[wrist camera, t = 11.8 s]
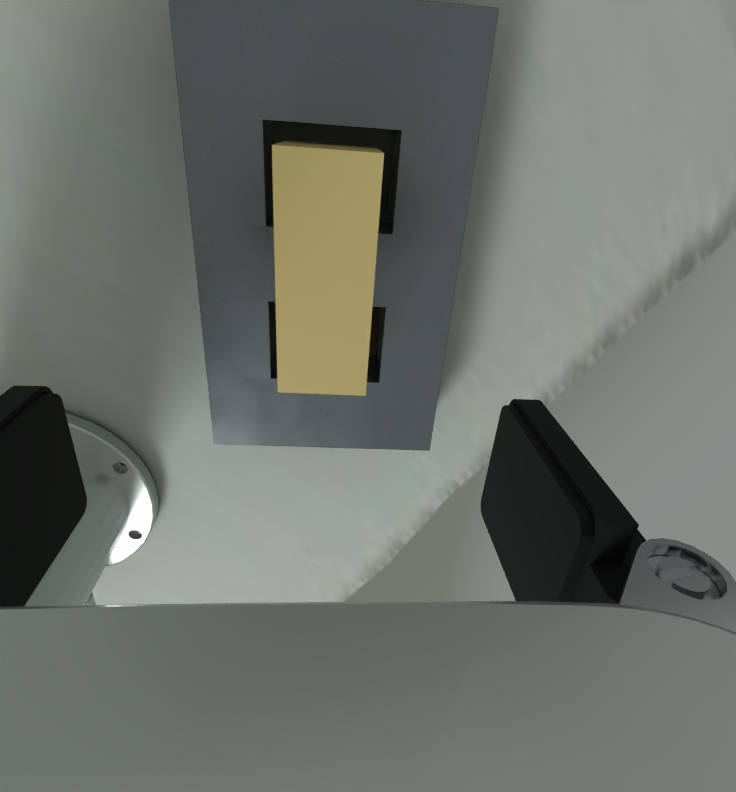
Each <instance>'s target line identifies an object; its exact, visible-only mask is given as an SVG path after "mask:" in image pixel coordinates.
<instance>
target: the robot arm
mask: <svg viewBox="0 0 736 792" xmlns="http://www.w3.org/2000/svg"><path fill="white" fill-rule="evenodd" d="M158 502H159V501H158V495H157V490H156V486H155V483H154V481H153V479H152V477H151V474H150V472H149V471H148V469H147V468H146V466H145V465H144V463H143V462H142V461H141V459H140V458H139V457H138V456H137V455H136V454H135V453H134V452H133V451H132V450H131V449H130V448H129V447H128V446H127V445H126V444H125V443H124V442H123V441H121V440H120V439H118V438H117V437H116V436H114V435H113V434H112V433H110V432H109V431H107V430H105V429H103V428H101V427H100V426H98V425H96V424H94V423H92V422H90V421H88V420H85V419H82V418H79V417H77V416H74V415H71V414H68V413H65V410H64V406H63V402H62V399H61V397H60V396H59V395H58V394H53V392H52V391H51V389H50V388H48V387H46V386H13V387H11V388H10V389H9V390H7V391H6V392H5V393H4V394H2V395H1V396H0V792H736V582H735V580H734V579H733V577H732V576H731V574H730V573H729V572H728V571H727V570H726V569H725V568H724V567H723V566H722V565H721V564H720V563H719V562H718V561H716V560H715V559H714V558H712V557H711V556H709V555H708V554H706V553H705V552H703V551H701V550H699V549H697V548H695V547H693V546H691V545H688V544H685V543H682V542H679V541H676V540H670V539H664V538H660V539H650V540H648V541H646V540H645V538H644V537H643V536H642V535H641V533H640V532H639V531H638V530H637V528H638V526H639V525H638V523H637V522H636V521H635V520H634V518H633V517H632V516H631V514H630V513H629V512H628V511H627V509H626V508H625V507H624V506H623V504H622V503H621V502H620V500H619V499H618V498H617V497H616V495H615V494H614V493H613V492H612V491H611V489H610V488H609V487H608V485H607V484H606V483H605V481H604V480H603V479H602V478H601V476H599V474H598V473H597V471H596V470H595V469H594V468H593V466H592V465H591V464H590V463H589V461H588V460H587V459H586V458H585V456H584V455H583V454H582V452H581V451H580V450H579V449H578V447H577V446H576V445H575V444H574V442H573V441H572V440H571V439H570V437H569V436H568V435H567V433H566V432H565V431H564V430H563V428H562V427H561V426H560V425H559V423H558V422H557V421H556V420H555V418H554V417H553V416H552V415H551V414H550V412H549V411H548V410H547V408H546V407H545V406H544V404H543V403H542V402H541V401H540V400H522V399H513V400H512V401H511V403H510V404H509V405H505V406H503V408H502V410H501V413H500V418H499V422H498V427H497V431H496V436H495V440H494V445H493V449H492V453H491V458H490V462H489V467H488V471H487V476H486V480H485V485H484V489H483V494H482V498H481V512H482V517H483V519H484V522H485V524H486V527H487V529H488V532H489V534H490V537H491V539H492V542H493V544H494V547H495V549H496V552H497V555H498V557H499V560H500V562H501V565H502V567H503V570H504V572H505V575H506V577H507V580H508V582H509V585H510V587H511V590H512V592H513V595H514V597H515V600H516V601H457V602H456V601H454V602H303V603H213V604H137V605H96V603H95V600H94V596H93V593H92V590H93V588H94V586H95V585H96V583H97V581H98V579H99V577H100V575H101V573H102V571H103V570H104V568H105V566H109V565H112V564H114V563H117V562H119V561H121V560H124V559H126V558H127V557H128V556H130V555H131V554H133V553H134V552H136V551H137V550H138V549H139V548H140V547H141V546H142V544H143V543H144V542H145V541H146V539H147V537H148V536H149V534H150V532H151V530H152V528H153V526H154V523H155V520H156V517H157V515H158Z"/></svg>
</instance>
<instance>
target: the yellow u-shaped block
mask: <svg viewBox="0 0 736 792" xmlns="http://www.w3.org/2000/svg"><path fill="white" fill-rule="evenodd" d="M383 162H384V153H383V152H382V151H381V150H379V149H378V148H377V147H375V146H365V145H352V144H339V143H326V142H313V141H299V140H286V141H283V142H280V143H276V144H273V145H272V174H273V216H274V258H275V301H276V343H277V386H278V392H282V393H307V394H333V395H358V396H366V385H367V372H368V359H369V346H370V333H371V320H372V307H373V294H374V280H375V267H376V254H377V241H378V228H379V215H380V202H381V189H382V176H383Z"/></svg>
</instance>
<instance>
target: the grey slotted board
mask: <svg viewBox="0 0 736 792" xmlns="http://www.w3.org/2000/svg"><path fill="white" fill-rule="evenodd" d="M169 9H170V19H171V29H172V39H173V48H174V58H175V68H176V78H177V87H178V97H179V107H180V117H181V126H182V136H183V146H184V156H185V165H186V175H187V185H188V195H189V205H190V214H191V224H192V234H193V244H194V253H195V263H196V273H197V283H198V292H199V302H200V312H201V322H202V331H203V341H204V351H205V361H206V370H207V380H208V390H209V400H210V409H211V419H212V429H213V439H214V444H229V445H262V446H296V447H329V448H363V449H396V450H430V444H431V438H432V431H433V425H434V419H435V412H436V406H437V400H438V393H439V387H440V380H441V374H442V368H443V361H444V355H445V349H446V342H447V336H448V330H449V323H450V317H451V311H452V304H453V298H454V292H455V285H456V279H457V273H458V266H459V260H460V254H461V247H462V241H463V235H464V228H465V222H466V216H467V209H468V203H469V197H470V190H471V184H472V178H473V171H474V165H475V159H476V152H477V146H478V140H479V133H480V127H481V120H482V114H483V108H484V101H485V95H486V89H487V82H488V76H489V70H490V63H491V57H492V51H493V44H494V38H495V32H496V25H497V19H498V13H499V8H495V7H485V6H474V5H464V4H454V3H443V2H433V1H423V0H169ZM272 120H276V121H289V122H302V123H315V124H328V125H341V126H353V127H366V128H379V129H392V130H395V135H394V147H393V159H392V171H391V183H390V195H389V207H388V219H387V222H379V228H378V241H377V254H376V267H375V280H374V294H373V307H380V315H379V327H378V339H377V351H376V359H374V358H369V359H368V372H367V385H366V396H358V395H333V394H307V393H282V392H278V386H277V343H276V301H275V258H274V216H273V174H272V145H273V143H272Z"/></svg>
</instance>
